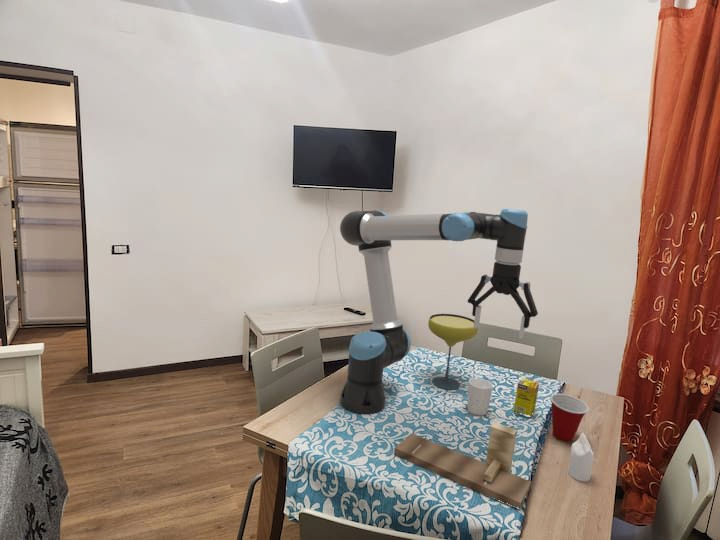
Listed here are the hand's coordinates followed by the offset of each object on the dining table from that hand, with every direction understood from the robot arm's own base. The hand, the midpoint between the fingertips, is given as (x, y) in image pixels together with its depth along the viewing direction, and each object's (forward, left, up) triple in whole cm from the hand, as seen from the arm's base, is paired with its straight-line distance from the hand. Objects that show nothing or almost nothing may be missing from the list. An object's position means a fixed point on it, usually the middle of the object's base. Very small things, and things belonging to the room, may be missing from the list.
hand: (498, 332), depth 136 cm
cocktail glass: (-23, +23, -32) cm, 46 cm away
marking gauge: (+10, -23, -31) cm, 40 cm away
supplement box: (+7, +20, -32) cm, 38 cm away
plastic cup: (+21, +12, -32) cm, 40 cm away
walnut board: (+2, -26, -32) cm, 41 cm away
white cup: (-6, +10, -32) cm, 34 cm away
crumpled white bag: (+28, -6, -32) cm, 43 cm away
